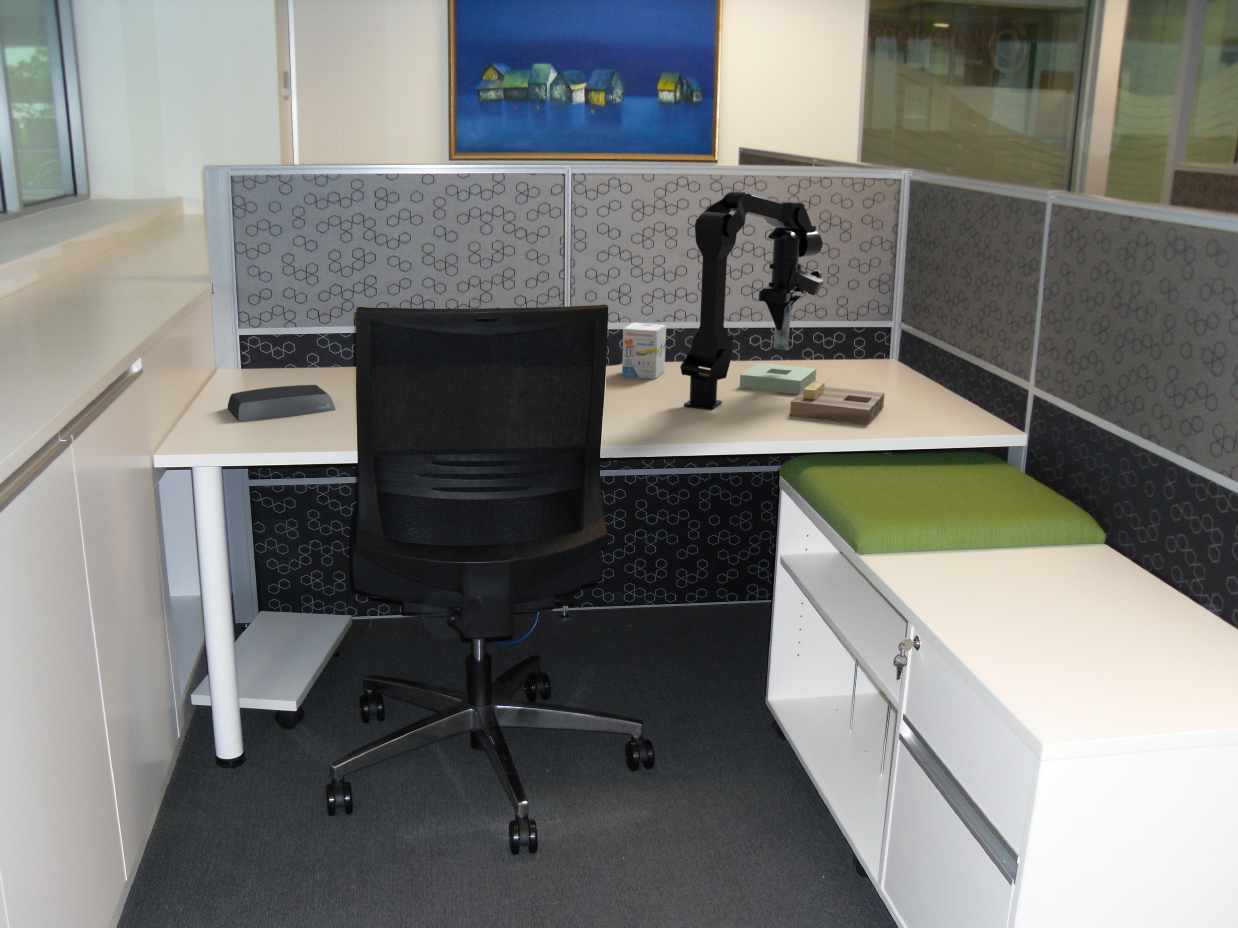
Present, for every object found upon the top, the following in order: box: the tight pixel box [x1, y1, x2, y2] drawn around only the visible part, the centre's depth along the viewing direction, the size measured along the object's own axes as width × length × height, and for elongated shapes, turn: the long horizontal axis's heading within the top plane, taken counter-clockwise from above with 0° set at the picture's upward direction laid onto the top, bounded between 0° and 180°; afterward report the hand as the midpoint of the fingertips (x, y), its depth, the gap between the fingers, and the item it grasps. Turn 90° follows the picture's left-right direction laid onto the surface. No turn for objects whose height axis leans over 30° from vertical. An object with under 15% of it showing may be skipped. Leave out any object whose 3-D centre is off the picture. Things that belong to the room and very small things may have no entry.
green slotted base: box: [739, 362, 817, 395], centre depth 244 cm, size 14×14×3 cm
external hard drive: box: [227, 384, 336, 422], centre depth 218 cm, size 13×19×4 cm
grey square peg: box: [773, 304, 792, 351], centre depth 240 cm, size 3×3×10 cm
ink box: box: [621, 322, 667, 380], centre depth 252 cm, size 9×8×12 cm
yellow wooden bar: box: [803, 380, 826, 400], centre depth 222 cm, size 8×2×2 cm, turn 156°
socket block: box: [789, 386, 886, 425], centre depth 221 cm, size 16×16×3 cm
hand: (781, 328), depth 240 cm, fingers closed on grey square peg, 3 cm apart
